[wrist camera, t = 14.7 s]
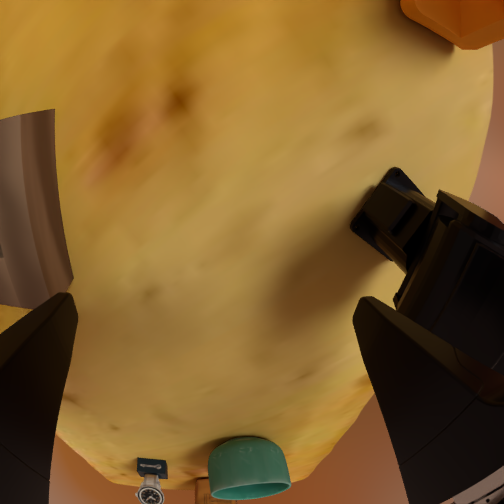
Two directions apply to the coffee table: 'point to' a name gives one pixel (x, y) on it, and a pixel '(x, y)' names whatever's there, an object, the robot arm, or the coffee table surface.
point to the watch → (151, 480)
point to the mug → (247, 469)
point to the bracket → (460, 20)
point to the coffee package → (207, 494)
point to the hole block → (30, 213)
